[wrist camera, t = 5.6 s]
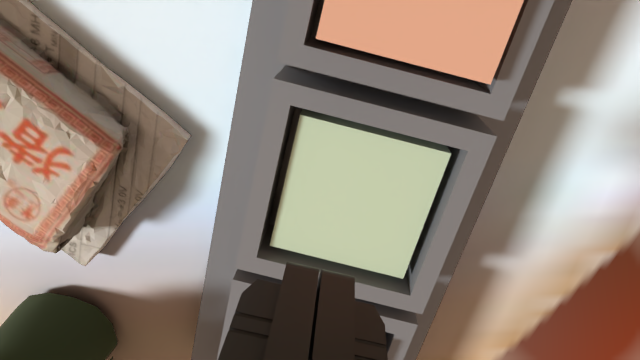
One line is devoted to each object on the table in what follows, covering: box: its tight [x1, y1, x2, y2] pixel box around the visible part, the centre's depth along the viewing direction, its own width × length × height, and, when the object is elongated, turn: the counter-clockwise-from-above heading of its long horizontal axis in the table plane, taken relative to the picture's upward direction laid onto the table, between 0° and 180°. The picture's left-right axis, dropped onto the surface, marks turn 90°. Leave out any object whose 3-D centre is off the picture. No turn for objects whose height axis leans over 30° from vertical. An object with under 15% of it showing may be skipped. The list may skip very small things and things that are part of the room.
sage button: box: [270, 109, 451, 279], centre depth 20 cm, size 6×6×2 cm
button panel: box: [191, 0, 572, 360], centre depth 20 cm, size 28×12×5 cm, turn 166°
